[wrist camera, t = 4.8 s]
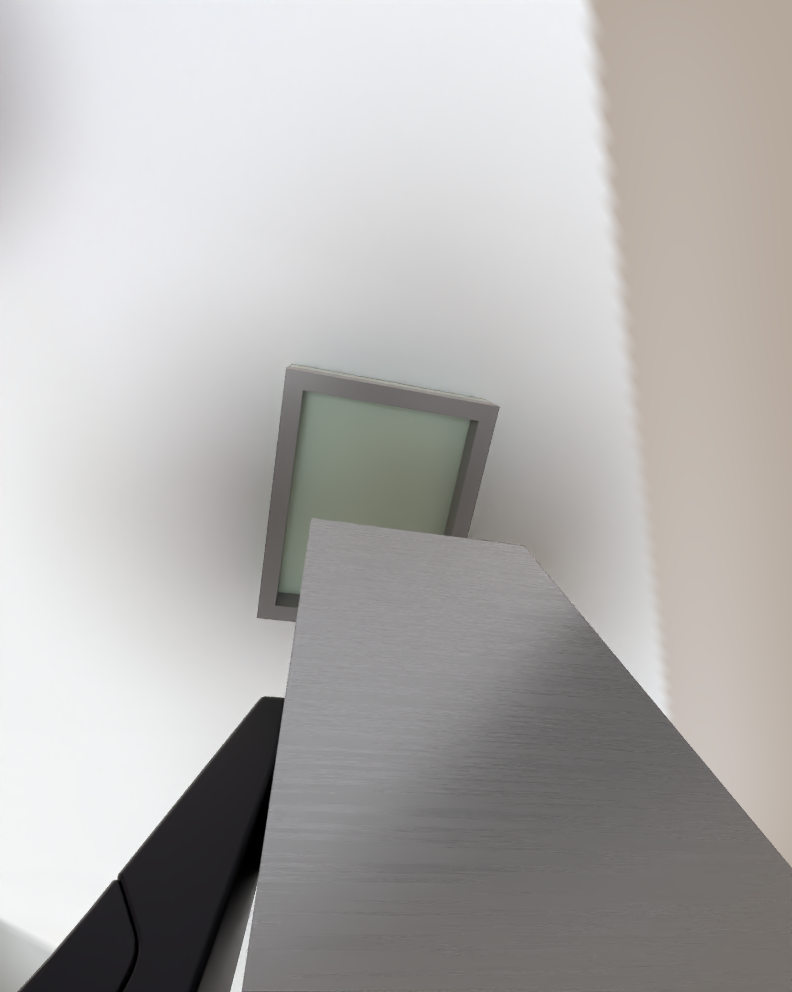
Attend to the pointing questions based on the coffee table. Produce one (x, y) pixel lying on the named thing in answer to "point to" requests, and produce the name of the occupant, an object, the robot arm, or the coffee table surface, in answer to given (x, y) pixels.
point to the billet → (492, 797)
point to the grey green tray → (367, 467)
